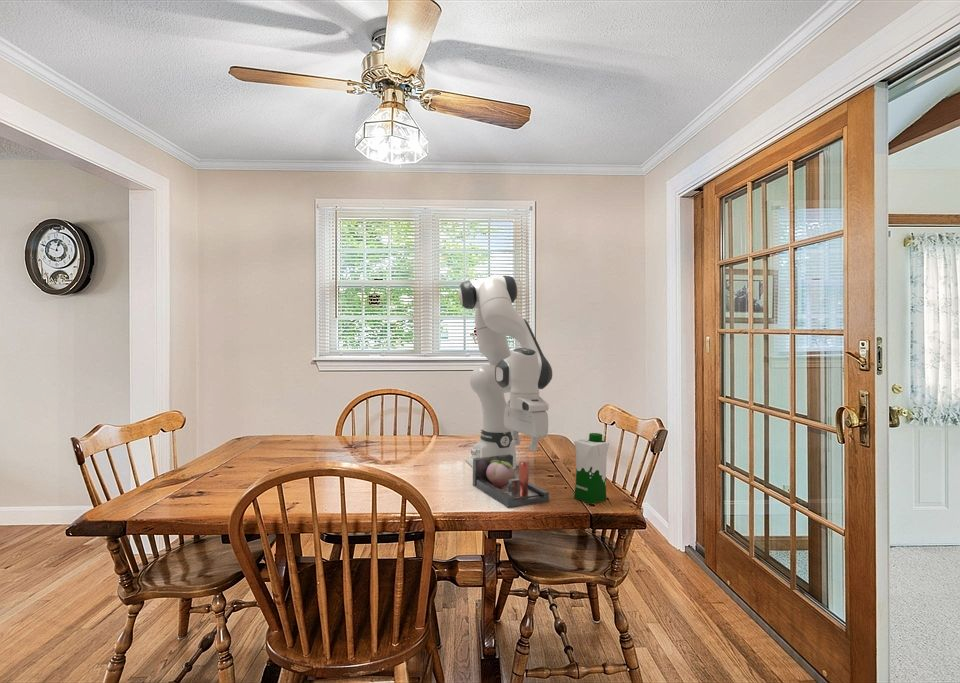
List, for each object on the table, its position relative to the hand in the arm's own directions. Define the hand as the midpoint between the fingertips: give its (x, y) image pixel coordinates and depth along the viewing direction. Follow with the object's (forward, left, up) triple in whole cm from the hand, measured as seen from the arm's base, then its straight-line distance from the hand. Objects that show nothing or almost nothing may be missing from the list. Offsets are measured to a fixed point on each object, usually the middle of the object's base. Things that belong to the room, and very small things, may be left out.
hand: (524, 447), depth 157 cm
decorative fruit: (-15, 0, -17) cm, 22 cm away
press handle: (-2, 0, -16) cm, 16 cm away
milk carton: (+6, +20, -17) cm, 27 cm away
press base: (-9, 0, -16) cm, 19 cm away
